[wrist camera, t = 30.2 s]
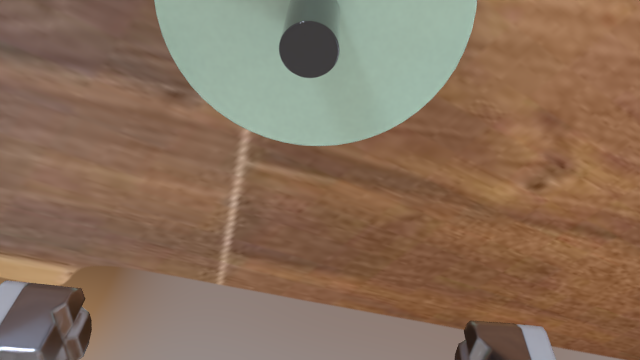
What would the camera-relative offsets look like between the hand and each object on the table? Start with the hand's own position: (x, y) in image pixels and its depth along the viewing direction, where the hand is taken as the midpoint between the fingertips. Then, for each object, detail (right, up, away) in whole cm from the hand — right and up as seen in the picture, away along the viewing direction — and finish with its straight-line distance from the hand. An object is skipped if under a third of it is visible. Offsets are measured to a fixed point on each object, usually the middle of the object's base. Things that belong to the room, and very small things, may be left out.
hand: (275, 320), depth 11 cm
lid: (+1, +12, +15) cm, 19 cm away
